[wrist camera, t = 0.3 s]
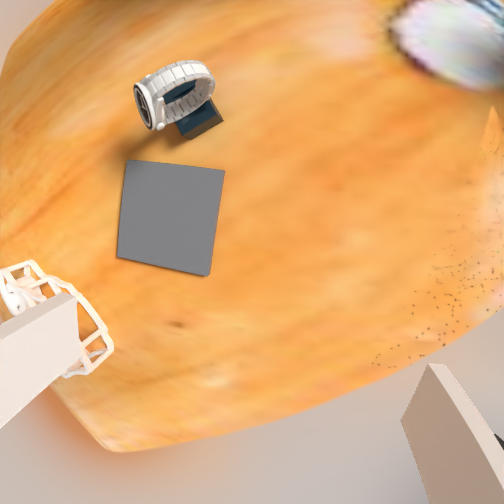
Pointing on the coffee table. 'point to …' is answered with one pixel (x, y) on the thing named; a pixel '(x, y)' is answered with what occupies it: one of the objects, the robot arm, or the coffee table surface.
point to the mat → (170, 215)
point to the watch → (178, 98)
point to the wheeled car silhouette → (29, 294)
